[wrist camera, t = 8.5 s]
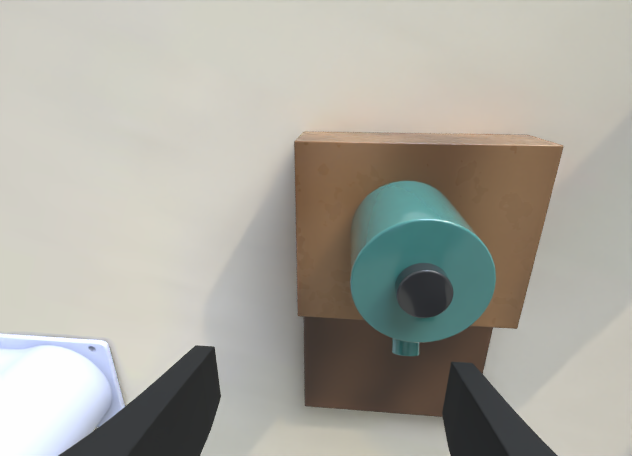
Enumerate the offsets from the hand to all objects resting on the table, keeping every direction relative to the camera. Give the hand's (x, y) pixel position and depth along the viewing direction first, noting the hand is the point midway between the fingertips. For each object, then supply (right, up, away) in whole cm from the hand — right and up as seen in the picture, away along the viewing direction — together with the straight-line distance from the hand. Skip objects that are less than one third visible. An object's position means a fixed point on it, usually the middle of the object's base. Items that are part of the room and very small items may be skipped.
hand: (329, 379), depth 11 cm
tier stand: (+4, +1, +10) cm, 11 cm away
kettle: (+4, +5, +6) cm, 8 cm away
